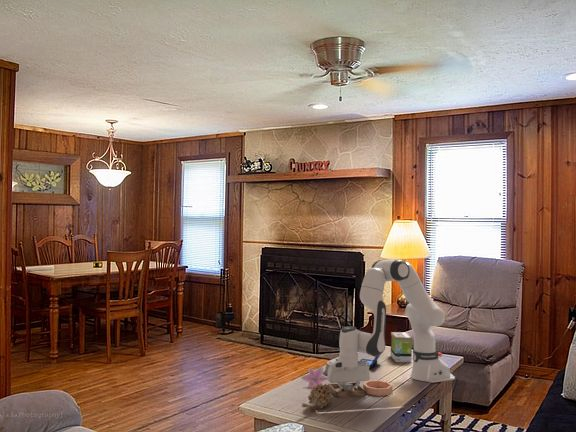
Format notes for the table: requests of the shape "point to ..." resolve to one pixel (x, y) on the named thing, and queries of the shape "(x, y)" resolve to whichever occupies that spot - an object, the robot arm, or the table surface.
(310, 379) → the lily
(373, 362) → the handheld game console
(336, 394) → the tray
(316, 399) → the pine cone
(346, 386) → the grey rounded cylinder
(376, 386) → the bowl
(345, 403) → the table surface
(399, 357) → the tea box
